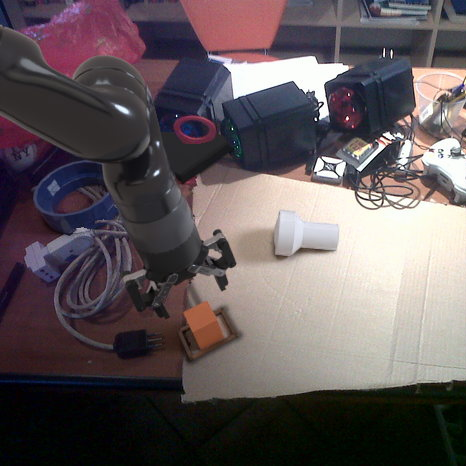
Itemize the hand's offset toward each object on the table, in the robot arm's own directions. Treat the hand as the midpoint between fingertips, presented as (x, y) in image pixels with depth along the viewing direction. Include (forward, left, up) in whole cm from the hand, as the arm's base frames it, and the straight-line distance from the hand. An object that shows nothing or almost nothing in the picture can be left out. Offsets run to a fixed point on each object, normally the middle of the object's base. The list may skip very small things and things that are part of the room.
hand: (194, 299), depth 70 cm
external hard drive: (+12, +48, -11) cm, 50 cm away
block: (0, 0, -10) cm, 10 cm away
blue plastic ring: (-10, +40, -11) cm, 43 cm away
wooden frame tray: (0, +5, -11) cm, 12 cm away
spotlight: (+22, +8, -11) cm, 26 cm away
